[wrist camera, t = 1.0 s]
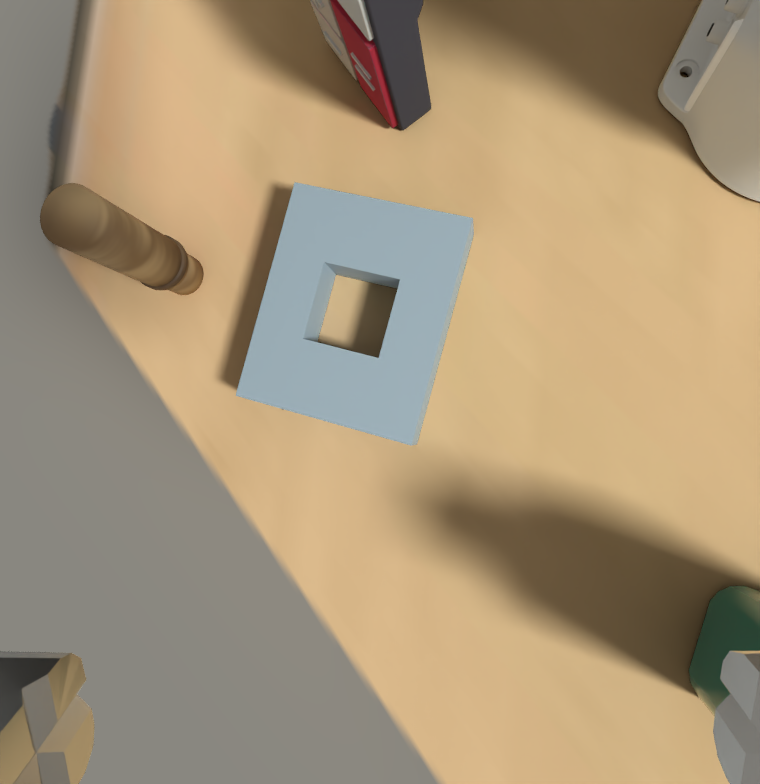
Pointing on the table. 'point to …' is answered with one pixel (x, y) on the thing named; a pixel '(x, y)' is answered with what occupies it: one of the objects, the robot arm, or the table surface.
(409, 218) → the seat board
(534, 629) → the table surface
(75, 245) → the peg
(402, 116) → the calculator
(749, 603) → the teal bottle
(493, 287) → the table surface
